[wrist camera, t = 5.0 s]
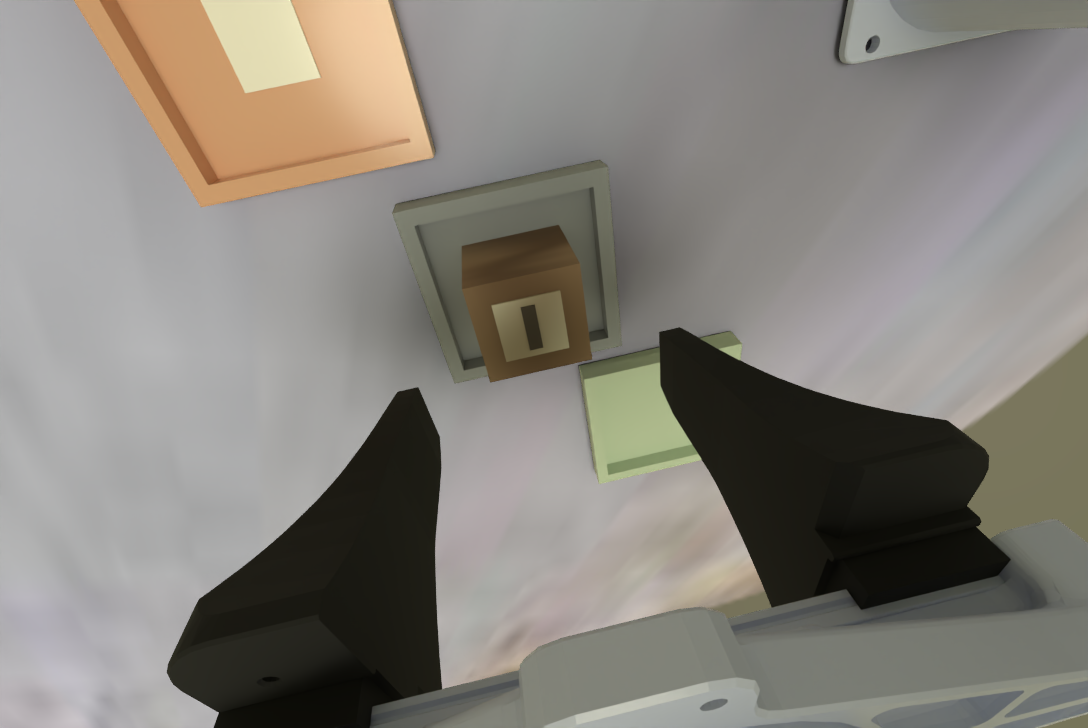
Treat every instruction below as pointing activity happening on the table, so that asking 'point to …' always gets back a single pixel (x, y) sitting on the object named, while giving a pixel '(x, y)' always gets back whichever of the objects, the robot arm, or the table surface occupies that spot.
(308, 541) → the robot arm
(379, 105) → the terracotta dish
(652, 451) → the sage dish
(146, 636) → the table surface
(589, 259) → the slate dish
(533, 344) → the letter cube
